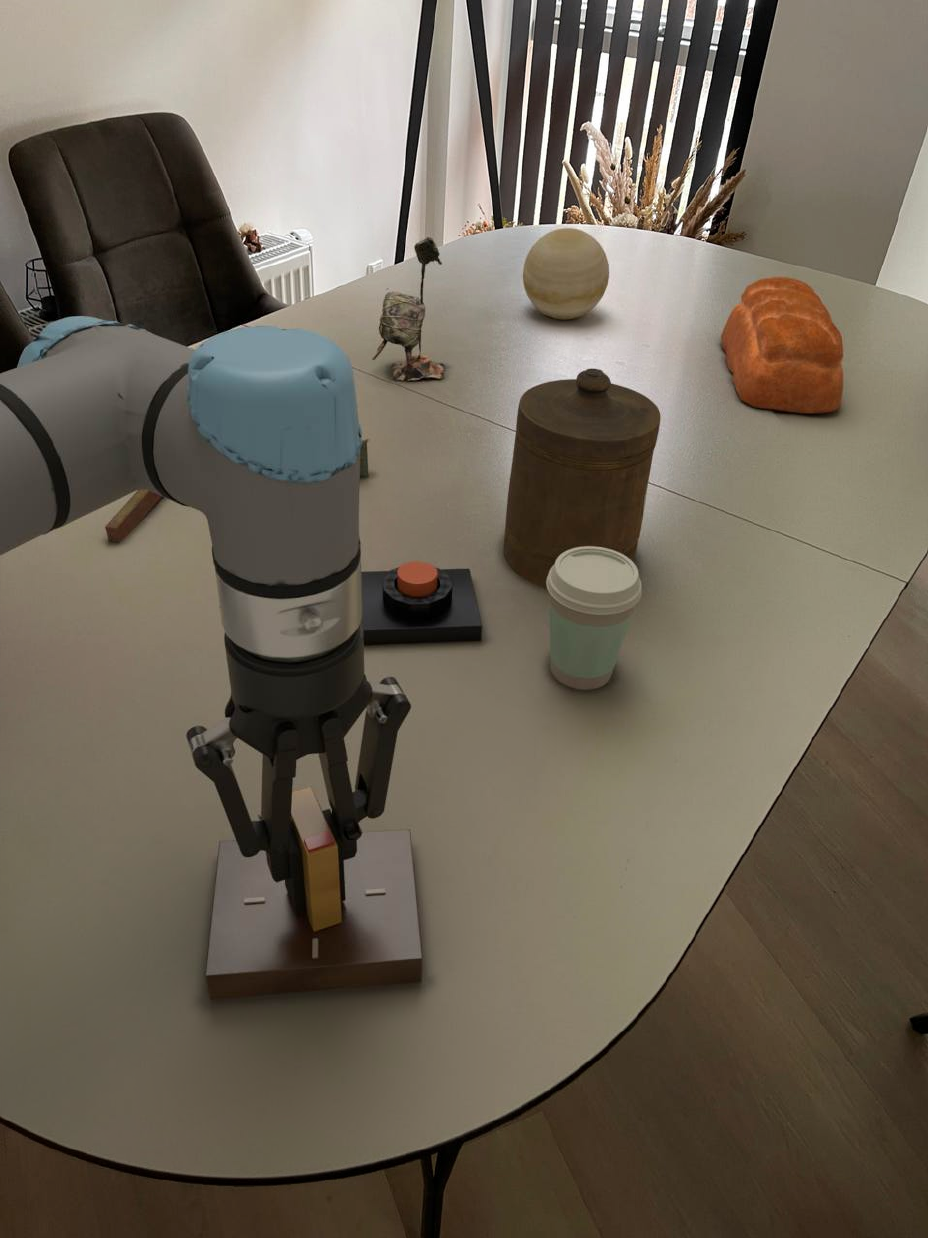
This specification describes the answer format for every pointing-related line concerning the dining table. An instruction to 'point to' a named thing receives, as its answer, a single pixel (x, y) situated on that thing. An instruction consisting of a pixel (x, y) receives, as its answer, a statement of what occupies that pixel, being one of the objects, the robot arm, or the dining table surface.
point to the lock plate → (287, 945)
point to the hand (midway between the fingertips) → (315, 892)
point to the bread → (784, 348)
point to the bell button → (417, 579)
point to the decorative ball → (566, 273)
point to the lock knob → (317, 860)
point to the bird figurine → (409, 323)
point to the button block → (419, 610)
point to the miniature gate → (147, 499)
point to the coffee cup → (589, 613)
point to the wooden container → (578, 471)
